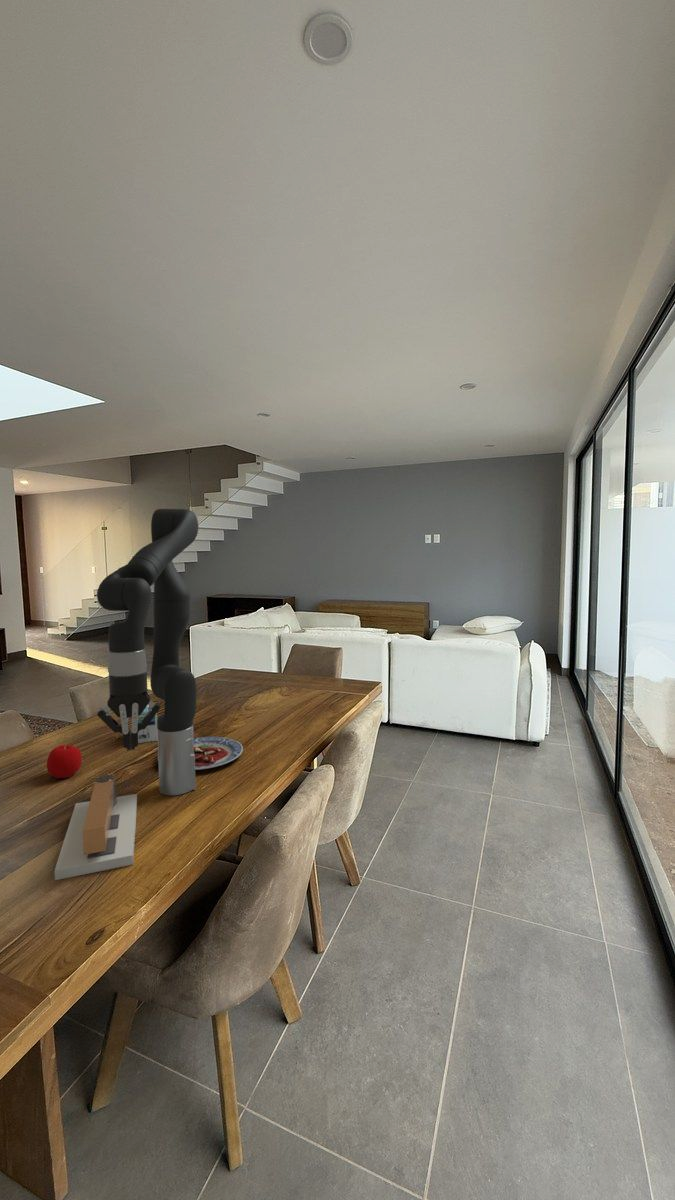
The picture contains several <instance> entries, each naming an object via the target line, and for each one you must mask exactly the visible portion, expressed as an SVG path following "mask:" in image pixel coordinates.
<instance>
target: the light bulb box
mask: <svg viewBox="0 0 675 1200" xmlns="http://www.w3.org/2000/svg"><path fill="white" fill-rule="evenodd" d="M148 707H149V705H147V706H146V708H145V709H144V711H143V712H142V714H141V715H139V716H138V723H140V722H141V721H142V720H143V719H144V717H145V716H146V715H147V713H148V712H149V711H148ZM157 719H158V712H157V713H156V715H155V716H154V718H153V719H152V720H151V722H150V723H149V724H148V726H147V727H146V728H145V729H142V730H140V731H139V732H138V744H141V743H143V744H144V743H150V742H151V741H152V742H158V734H157Z"/></svg>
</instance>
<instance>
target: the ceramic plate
mask: <svg viewBox="0 0 675 1200" xmlns="http://www.w3.org/2000/svg"><path fill="white" fill-rule="evenodd" d="M243 751H244V748H243V745H242V744H241V743H240V741H237V740H234V739H232V738H229V737H228V738H227V737H223V736H222V737H220V736H203V737H194V755H195V771H198V770H199V771H200V770H201V771H202V770H207V769H213V768H217V767H220V766H224V765H226V764H229V763H231V762H233V761H235V760H236V759H238V758H239V757H240V756H241V755H242V754H243Z"/></svg>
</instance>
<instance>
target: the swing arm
mask: <svg viewBox="0 0 675 1200" xmlns="http://www.w3.org/2000/svg"><path fill="white" fill-rule="evenodd" d="M115 779H116V778H115V773H113V774H103V775H99V776H96V778H95V779H94V785H93V789H92V793H91V796H90V804H89V808H88V812H87V816H86V819H85V823H84V827H83V851H84V855H85V854H91V853H96V852H101V851H106V846H107V840H108V834H109V828H110V822H111V816H112V810H113V804H114V798H115V796H116V780H115Z"/></svg>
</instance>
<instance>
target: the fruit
mask: <svg viewBox="0 0 675 1200" xmlns="http://www.w3.org/2000/svg"><path fill="white" fill-rule="evenodd" d="M64 742H65V744H61V745H59V746H56V747H54V748H53V749H52V750H51V751H50V753H48V756H47V760H46V769H47V772H48V774H49V775H50V776H52V777H53V778H55V779H59V778H62V779H67V778H71V777H72V776H73V775H75V774H76V773H77V772H78V771H79V770H80V768H81V766H82V763H83V762H82V761H83V756H82V755H83V754H82V752H81V750H80V749H79V748H78V747H77V746H75V745H71V744H67V742H68V741H67V740H64Z"/></svg>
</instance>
